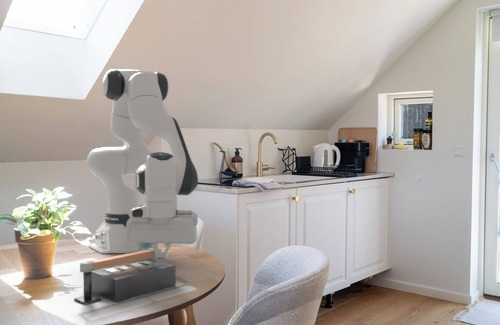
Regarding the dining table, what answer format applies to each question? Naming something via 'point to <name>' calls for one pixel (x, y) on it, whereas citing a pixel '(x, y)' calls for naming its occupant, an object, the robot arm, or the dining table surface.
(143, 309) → the dining table surface
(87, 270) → the swing arm
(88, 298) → the pivot post
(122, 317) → the dining table surface
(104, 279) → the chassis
